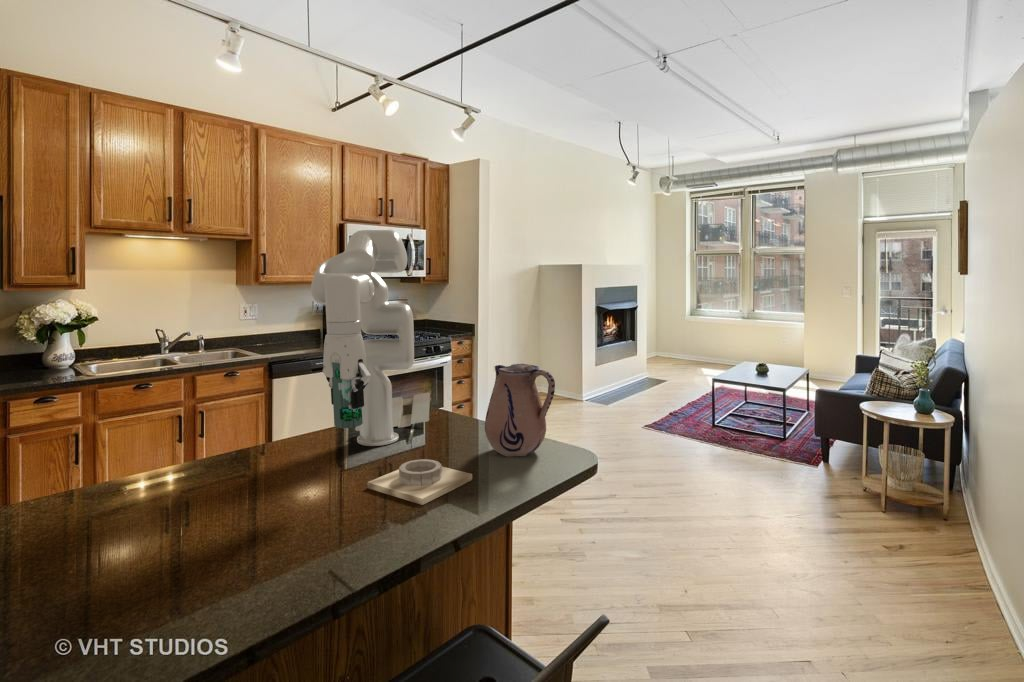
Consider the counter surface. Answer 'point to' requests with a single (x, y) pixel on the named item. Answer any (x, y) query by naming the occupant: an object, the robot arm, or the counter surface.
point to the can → (344, 402)
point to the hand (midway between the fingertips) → (347, 404)
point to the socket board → (420, 491)
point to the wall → (410, 410)
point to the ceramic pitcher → (517, 410)
